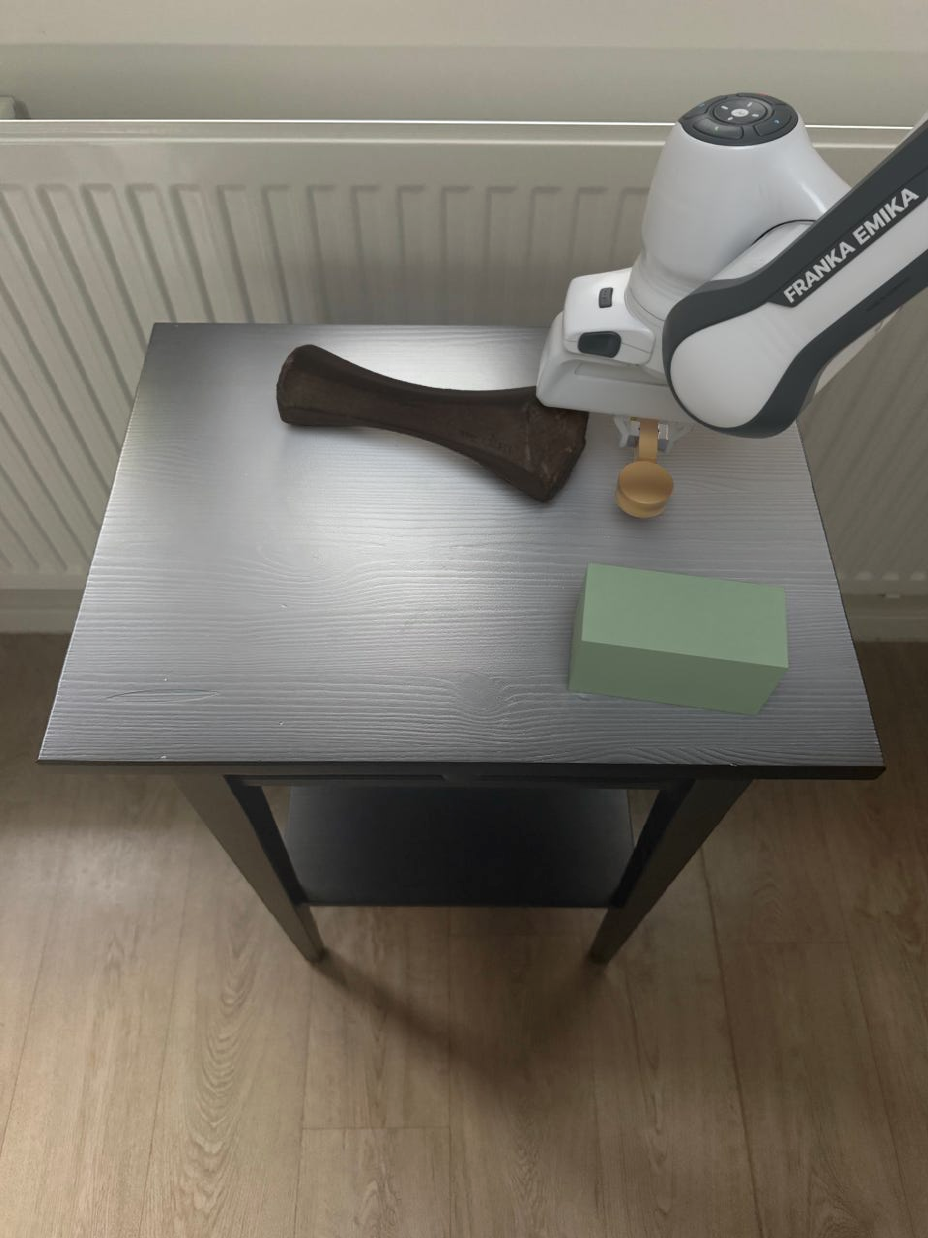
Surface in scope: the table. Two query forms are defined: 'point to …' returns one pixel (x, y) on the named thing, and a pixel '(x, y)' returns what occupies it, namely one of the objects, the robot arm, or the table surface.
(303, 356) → the dark brown bone
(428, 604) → the table surface
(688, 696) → the sage green box
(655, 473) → the spoon
